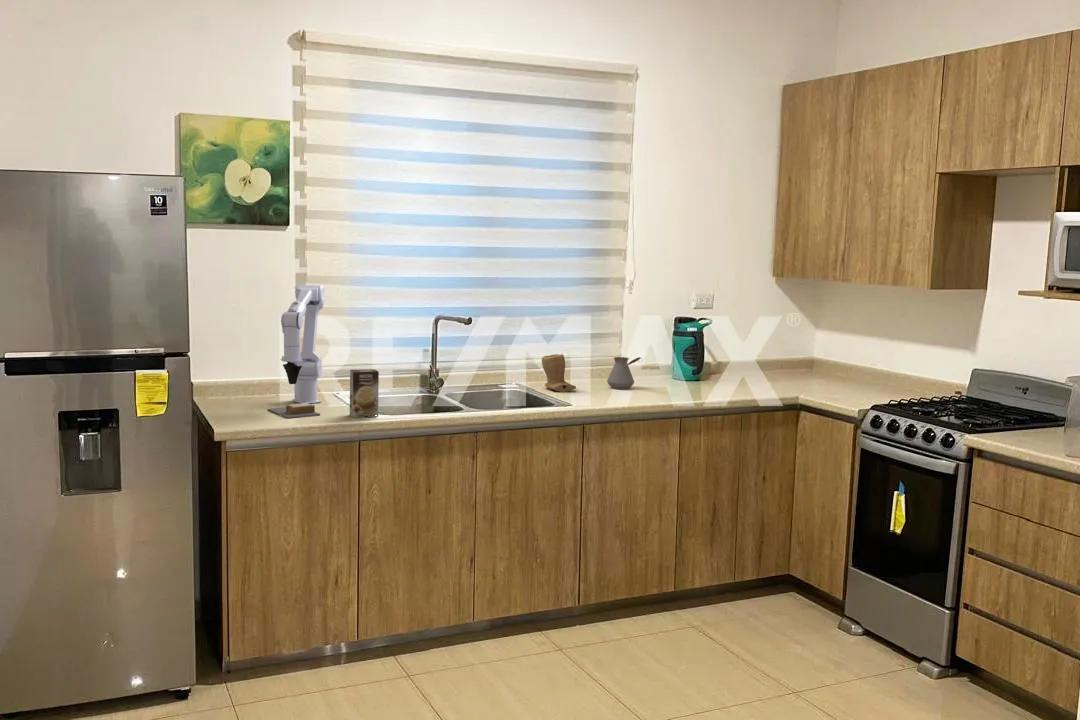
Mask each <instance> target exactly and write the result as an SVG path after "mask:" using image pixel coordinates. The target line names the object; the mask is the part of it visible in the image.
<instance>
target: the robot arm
mask: <svg viewBox="0 0 1080 720" xmlns="http://www.w3.org/2000/svg"><path fill="white" fill-rule="evenodd" d="M294 293H295V294H294V295H295V299H296V300H294V301H292V302H291V304H290V306H289V308H288V310H287V311H285V312H284V313H282V314H281V319H280V325H281V331H282V333H283V355H281V358H280V361H281V362H286V363H283V364H282V367H283V368H284V370H285V373H286V377H287V380H288V384H289V385H294V386H293V387H294V398H292V401H293V402H296V403H297V404H302V403H309V404H319V403H322V400H319V399H318V398H319V397H318V394H319V393H318V379H319V378H320V377H322V373H323V366H322V362H323V361H322V358H321V357H320V356H319V355H318V354H317V353H316V344H317V331H318V320H319V312H320V310H322V309H324V305H325V297H326V296H325V295H326V294H325V287H324V286H323V285H322V284H320V285H315V284H314V285H313V284H311V285H309V284H308V285H305V284H297V285H296V287H295V290H294ZM303 322H304V325H303ZM303 326H304V327H303ZM302 327H303V336H302V345H301V328H302ZM301 346H302V347H301Z"/></svg>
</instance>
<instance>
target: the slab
mask: <svg viewBox="0 0 1080 720" xmlns="http://www.w3.org/2000/svg"><path fill="white" fill-rule="evenodd" d="M285 407H286V412H287V413H290V414H292V415H296V414H307V413H315V412H316V410H315V405H314V404H312V403H302V404H300V403H293V404H285Z"/></svg>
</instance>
